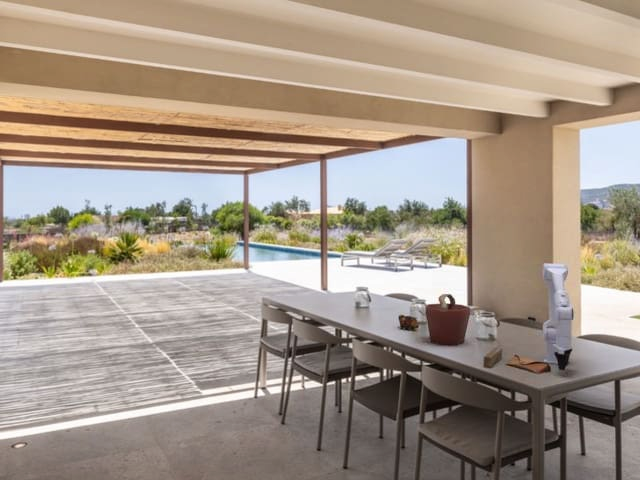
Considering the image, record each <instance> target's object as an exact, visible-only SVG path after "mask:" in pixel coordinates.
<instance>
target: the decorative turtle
mask: <svg viewBox="0 0 640 480" xmlns="http://www.w3.org/2000/svg"><path fill="white" fill-rule="evenodd" d="M398 322H399V326H400V329H402V330H403V329H405V330H406V331H410V330H409V329H410V328H411V330H414V329H419V326H420V325H419V324H418V320H417V319H416V318H415V317H414V316H411V315H406V316H405V315H404V314H400V315H398Z"/></svg>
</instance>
